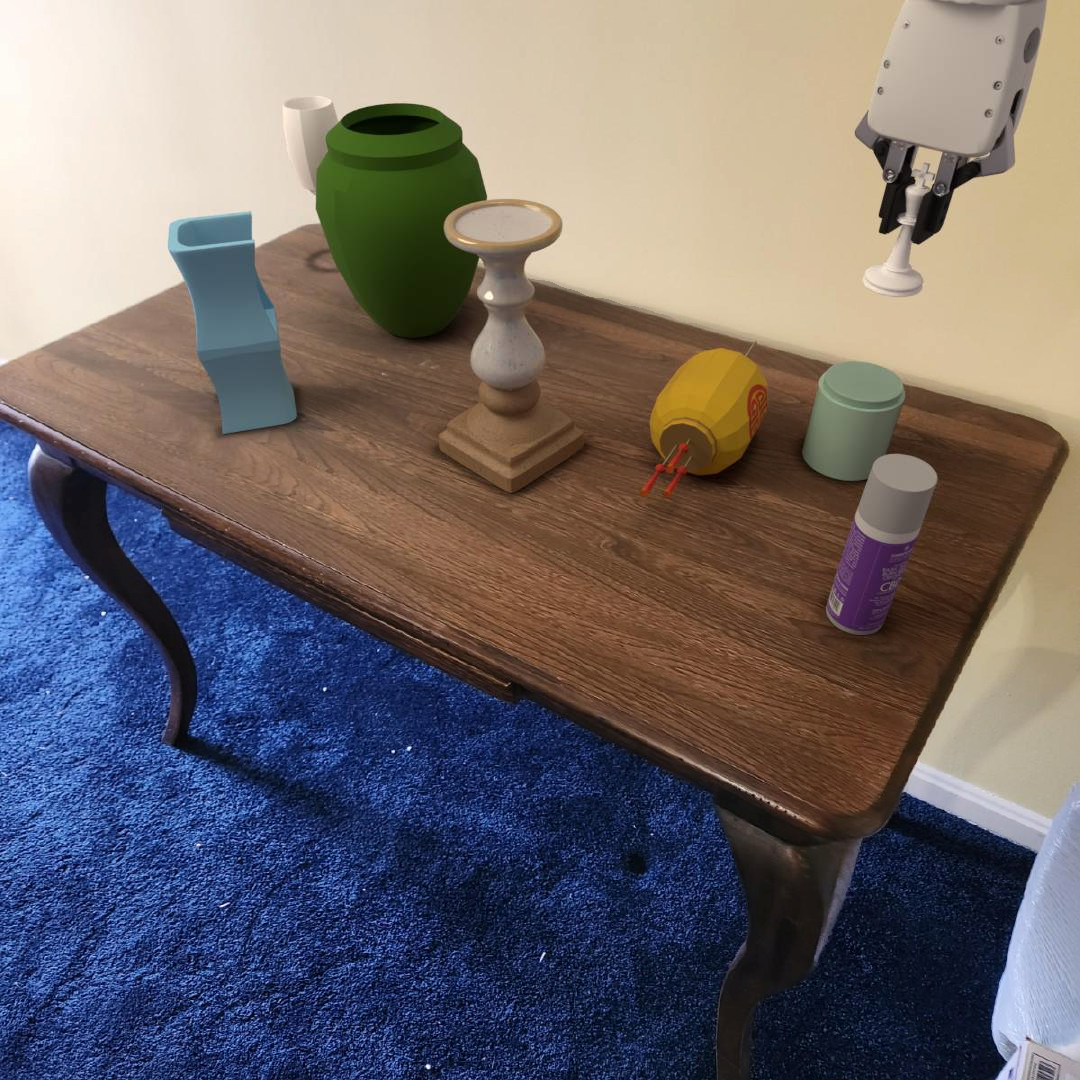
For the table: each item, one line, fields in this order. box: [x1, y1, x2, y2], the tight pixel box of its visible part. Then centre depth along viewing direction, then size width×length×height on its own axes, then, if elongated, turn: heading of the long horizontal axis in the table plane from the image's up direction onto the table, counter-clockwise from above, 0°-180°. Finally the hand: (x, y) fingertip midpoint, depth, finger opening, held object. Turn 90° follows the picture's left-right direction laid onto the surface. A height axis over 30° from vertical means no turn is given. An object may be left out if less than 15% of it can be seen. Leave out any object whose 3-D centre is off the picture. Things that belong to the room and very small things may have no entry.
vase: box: [315, 102, 488, 339], centre depth 101 cm, size 20×20×24 cm
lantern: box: [639, 340, 769, 499], centre depth 85 cm, size 10×10×30 cm
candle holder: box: [438, 198, 585, 494], centre depth 81 cm, size 11×11×24 cm
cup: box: [282, 95, 339, 196], centre depth 116 cm, size 7×7×21 cm
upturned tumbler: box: [801, 360, 906, 482], centre depth 85 cm, size 8×8×9 cm
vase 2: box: [167, 210, 298, 435], centre depth 88 cm, size 8×8×20 cm
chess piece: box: [861, 162, 937, 298], centre depth 70 cm, size 5×5×10 cm
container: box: [825, 453, 938, 636], centre depth 67 cm, size 5×5×15 cm
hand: (906, 232), depth 71 cm, fingers closed on chess piece
